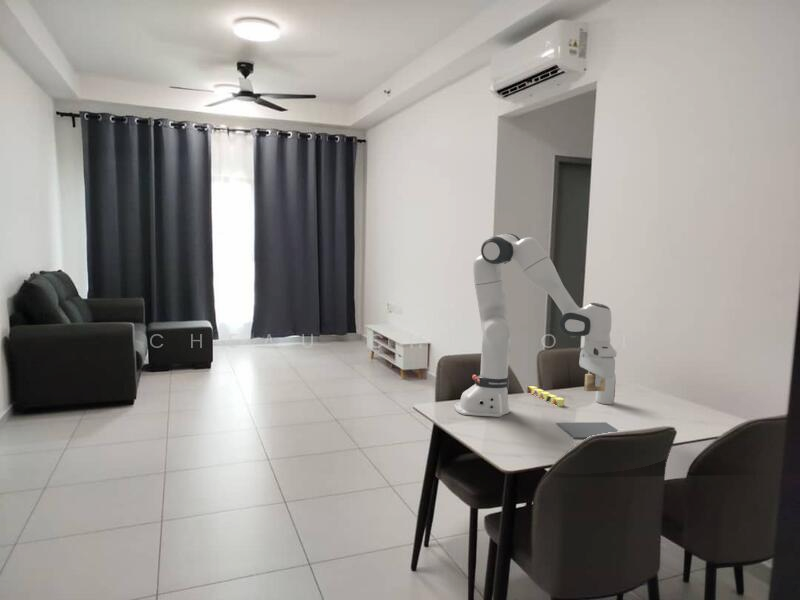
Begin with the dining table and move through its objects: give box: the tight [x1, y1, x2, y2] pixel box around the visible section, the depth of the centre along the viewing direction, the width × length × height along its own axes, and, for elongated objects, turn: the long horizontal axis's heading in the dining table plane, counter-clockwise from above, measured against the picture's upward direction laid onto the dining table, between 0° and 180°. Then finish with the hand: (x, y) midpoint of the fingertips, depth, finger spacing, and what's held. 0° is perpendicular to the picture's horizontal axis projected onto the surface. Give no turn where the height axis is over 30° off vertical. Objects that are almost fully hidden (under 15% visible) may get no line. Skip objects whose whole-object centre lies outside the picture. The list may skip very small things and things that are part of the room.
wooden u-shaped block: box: [583, 373, 606, 392], centre depth 201 cm, size 7×2×6 cm, turn 97°
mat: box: [555, 421, 619, 440], centre depth 202 cm, size 20×16×1 cm
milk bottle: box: [595, 371, 617, 405], centre depth 240 cm, size 8×8×20 cm
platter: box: [526, 385, 565, 407], centre depth 242 cm, size 32×32×3 cm
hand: (594, 384), depth 201 cm, fingers closed on wooden u-shaped block, 2 cm apart
